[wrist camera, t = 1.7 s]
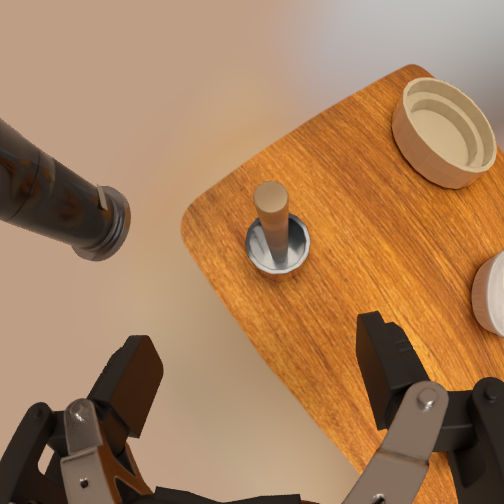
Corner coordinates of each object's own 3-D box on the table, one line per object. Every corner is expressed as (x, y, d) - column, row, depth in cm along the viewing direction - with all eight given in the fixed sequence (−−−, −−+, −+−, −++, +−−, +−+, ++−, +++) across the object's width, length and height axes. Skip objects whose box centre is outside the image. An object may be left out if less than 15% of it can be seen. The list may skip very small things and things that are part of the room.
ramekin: (451, 311, 27) (475, 310, 22) (481, 238, 28) (503, 228, 23) (496, 350, 25) (519, 353, 20) (522, 281, 26) (544, 277, 21)
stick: (268, 256, 31) (246, 200, 14) (278, 243, 31) (267, 174, 15) (281, 266, 31) (274, 219, 14) (291, 253, 31) (295, 192, 14)
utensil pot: (244, 261, 32) (232, 249, 25) (275, 221, 32) (271, 198, 25) (284, 291, 31) (284, 287, 24) (315, 249, 31) (322, 234, 24)
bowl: (373, 143, 32) (385, 117, 27) (409, 87, 34) (420, 63, 28) (461, 212, 29) (485, 196, 23) (483, 143, 30) (501, 125, 25)
